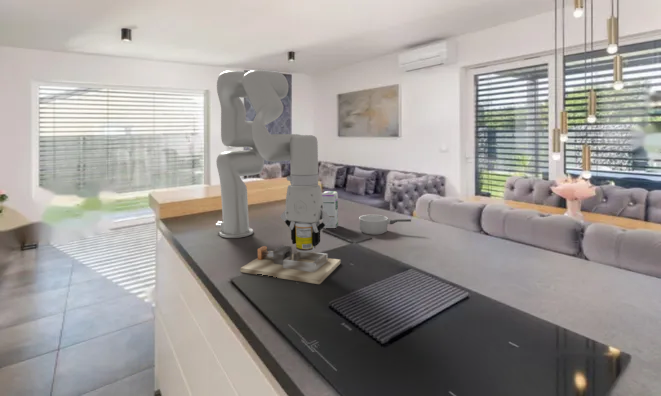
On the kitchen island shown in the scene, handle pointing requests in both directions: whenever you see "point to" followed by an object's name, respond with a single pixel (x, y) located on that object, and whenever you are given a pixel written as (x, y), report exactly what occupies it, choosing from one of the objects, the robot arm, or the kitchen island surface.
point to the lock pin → (265, 253)
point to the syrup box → (331, 207)
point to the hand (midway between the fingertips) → (305, 243)
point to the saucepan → (377, 223)
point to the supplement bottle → (304, 237)
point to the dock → (294, 265)
